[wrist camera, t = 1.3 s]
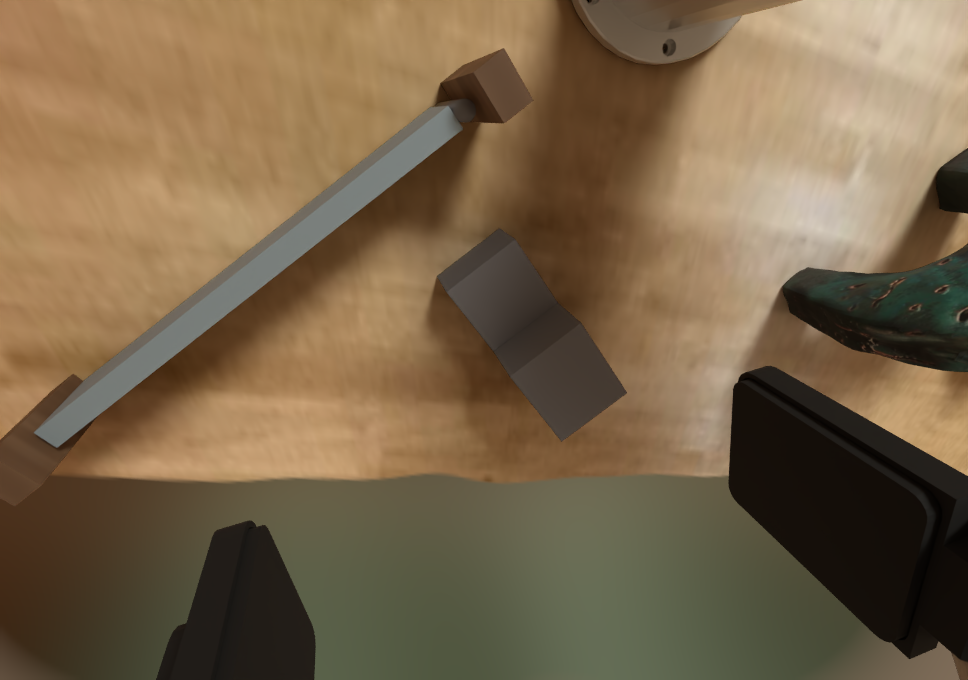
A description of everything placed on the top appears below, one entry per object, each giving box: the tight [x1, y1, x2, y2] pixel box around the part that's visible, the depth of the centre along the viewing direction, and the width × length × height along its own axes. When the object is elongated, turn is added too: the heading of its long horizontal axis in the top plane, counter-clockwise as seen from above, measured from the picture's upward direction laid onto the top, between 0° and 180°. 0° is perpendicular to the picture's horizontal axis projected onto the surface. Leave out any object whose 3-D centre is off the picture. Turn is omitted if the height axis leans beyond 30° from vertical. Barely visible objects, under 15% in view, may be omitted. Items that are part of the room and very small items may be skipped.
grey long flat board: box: [34, 99, 476, 448], centre depth 27 cm, size 26×1×6 cm, turn 125°
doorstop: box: [437, 228, 627, 442], centre depth 32 cm, size 5×11×7 cm, turn 35°
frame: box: [0, 48, 533, 506], centre depth 26 cm, size 30×2×8 cm, turn 125°
